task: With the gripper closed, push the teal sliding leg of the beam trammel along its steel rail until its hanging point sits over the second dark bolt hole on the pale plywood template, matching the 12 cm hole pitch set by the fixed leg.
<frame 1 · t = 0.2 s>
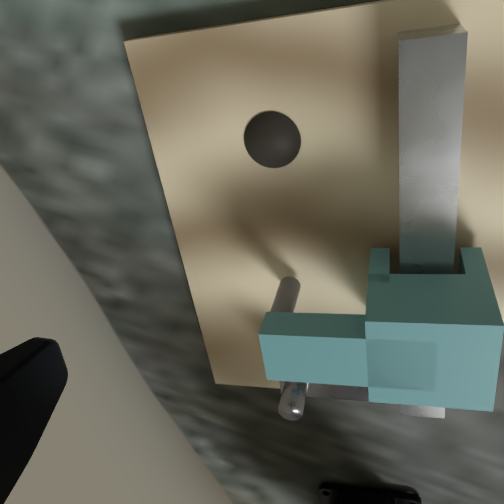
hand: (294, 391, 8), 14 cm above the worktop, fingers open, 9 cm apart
template board: (331, 235, 22), on the worktop
fixed leg: (360, 349, 26), resting on template board
sliding leg: (371, 320, 20), point 4 cm above the worktop, slide at 0.0 cm
rail: (422, 233, 21), resting on template board
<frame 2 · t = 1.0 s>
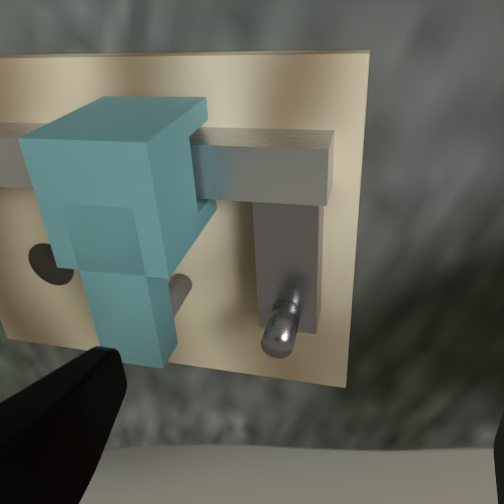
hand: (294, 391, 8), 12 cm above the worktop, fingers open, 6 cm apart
template board: (145, 228, 22), on the worktop
fixed leg: (296, 218, 20), resting on template board
sliding leg: (144, 234, 18), point 4 cm above the worktop, slide at 0.0 cm
rail: (129, 143, 20), resting on template board
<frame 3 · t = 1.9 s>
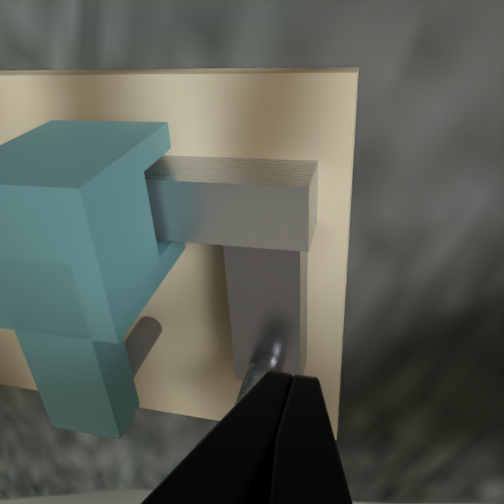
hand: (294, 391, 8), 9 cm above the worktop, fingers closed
template board: (109, 263, 20), on the worktop
fixed leg: (277, 256, 17), resting on template board
sliding leg: (97, 281, 15), point 4 cm above the worktop, slide at 0.0 cm
rail: (86, 171, 18), resting on template board
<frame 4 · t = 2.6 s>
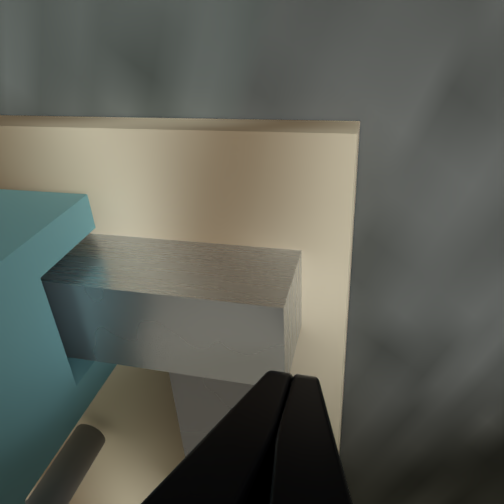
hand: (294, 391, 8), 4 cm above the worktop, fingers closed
template board: (39, 351, 15), on the worktop
fixed leg: (251, 357, 13), resting on template board
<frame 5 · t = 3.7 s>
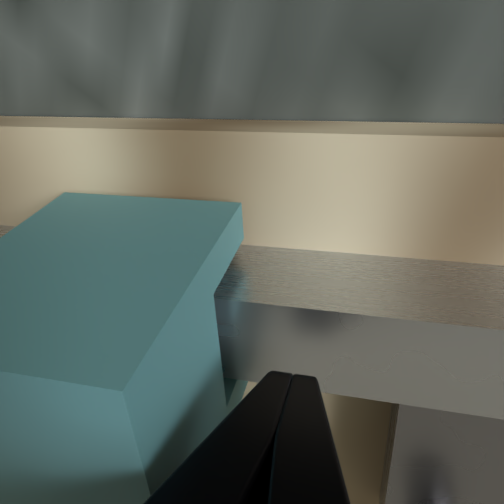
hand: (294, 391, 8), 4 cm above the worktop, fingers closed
template board: (186, 371, 14), on the worktop
fixed leg: (442, 381, 12), resting on template board
sliding leg: (132, 435, 10), point 4 cm above the worktop, slide at 1.6 cm, touching gripper
rail: (166, 256, 12), resting on template board
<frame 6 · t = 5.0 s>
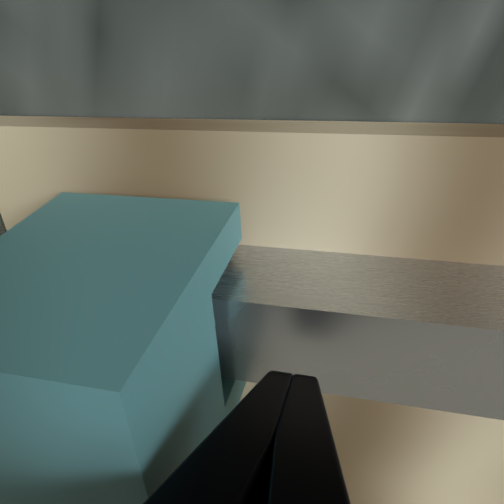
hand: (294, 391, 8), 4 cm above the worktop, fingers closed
template board: (384, 401, 13), on the worktop
sliding leg: (130, 435, 10), point 4 cm above the worktop, slide at 7.3 cm, touching gripper
rail: (399, 277, 11), resting on template board
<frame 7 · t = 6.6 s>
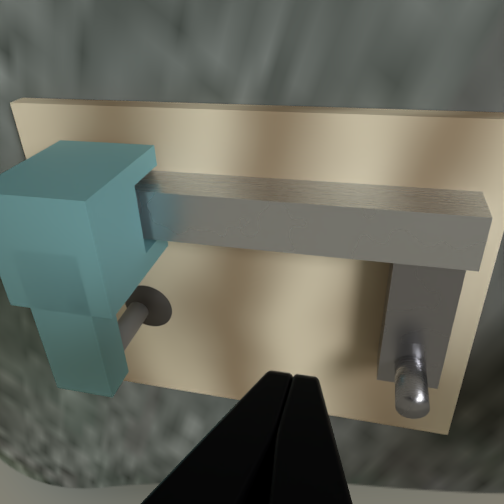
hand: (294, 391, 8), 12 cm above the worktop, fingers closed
template board: (252, 273, 22), on the worktop
fixed leg: (418, 271, 20), resting on template board
sliding leg: (96, 271, 19), point 4 cm above the worktop, slide at 7.3 cm
rail: (249, 191, 20), resting on template board
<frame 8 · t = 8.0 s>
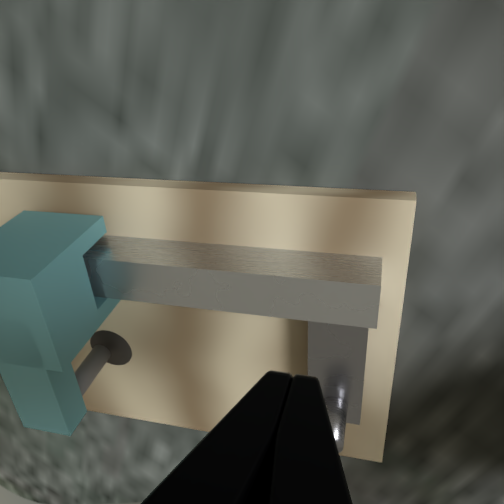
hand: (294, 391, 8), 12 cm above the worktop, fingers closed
template board: (200, 319, 24), on the worktop
fixed leg: (341, 319, 22), resting on template board
sliding leg: (55, 325, 22), point 4 cm above the worktop, slide at 7.3 cm
rail: (190, 251, 22), resting on template board
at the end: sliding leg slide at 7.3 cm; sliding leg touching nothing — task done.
